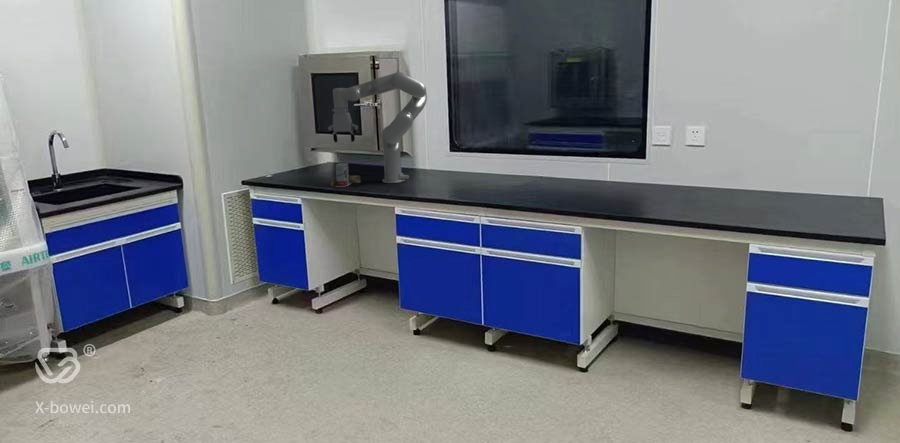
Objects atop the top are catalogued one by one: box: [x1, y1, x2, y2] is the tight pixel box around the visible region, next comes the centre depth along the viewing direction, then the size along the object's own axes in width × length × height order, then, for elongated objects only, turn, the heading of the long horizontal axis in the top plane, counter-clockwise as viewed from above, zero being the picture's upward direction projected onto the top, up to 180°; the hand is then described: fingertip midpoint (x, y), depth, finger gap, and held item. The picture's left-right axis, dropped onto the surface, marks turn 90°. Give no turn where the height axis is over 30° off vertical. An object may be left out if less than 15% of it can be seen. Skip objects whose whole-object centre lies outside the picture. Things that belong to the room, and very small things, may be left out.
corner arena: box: [330, 175, 361, 187], centre depth 375 cm, size 13×12×4 cm
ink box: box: [335, 162, 350, 186], centre depth 373 cm, size 9×5×12 cm, turn 171°
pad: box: [334, 183, 353, 188], centre depth 374 cm, size 6×10×1 cm, turn 169°
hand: (344, 141), depth 372 cm, fingers open, 9 cm apart
